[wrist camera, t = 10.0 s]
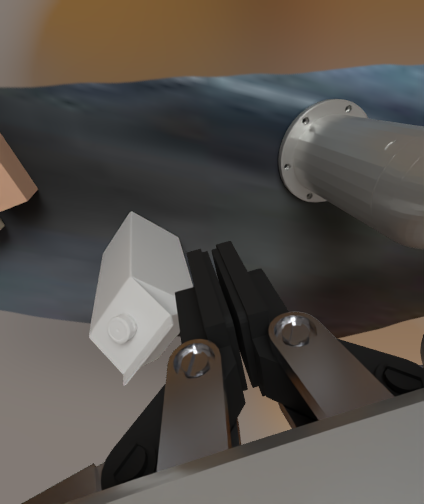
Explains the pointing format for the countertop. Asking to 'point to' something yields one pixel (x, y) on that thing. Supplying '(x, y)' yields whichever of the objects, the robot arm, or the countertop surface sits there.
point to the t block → (13, 179)
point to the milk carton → (138, 295)
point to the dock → (1, 224)
